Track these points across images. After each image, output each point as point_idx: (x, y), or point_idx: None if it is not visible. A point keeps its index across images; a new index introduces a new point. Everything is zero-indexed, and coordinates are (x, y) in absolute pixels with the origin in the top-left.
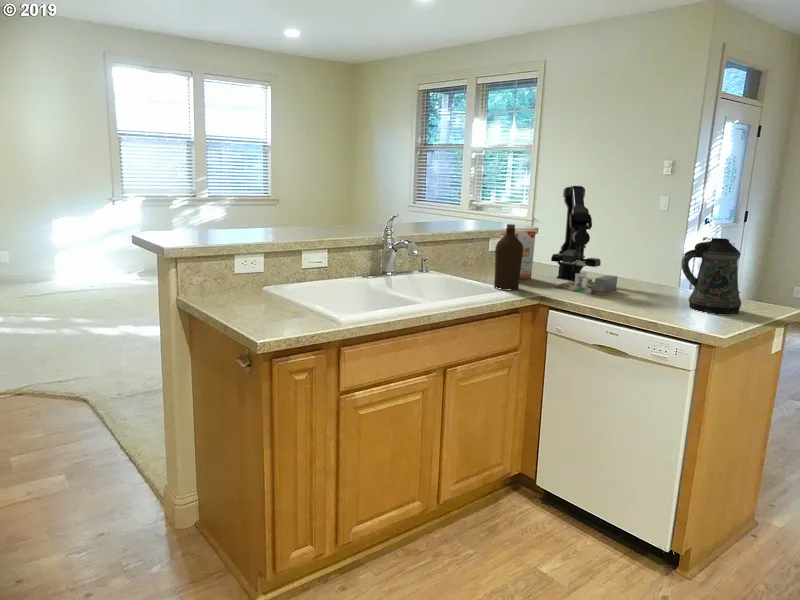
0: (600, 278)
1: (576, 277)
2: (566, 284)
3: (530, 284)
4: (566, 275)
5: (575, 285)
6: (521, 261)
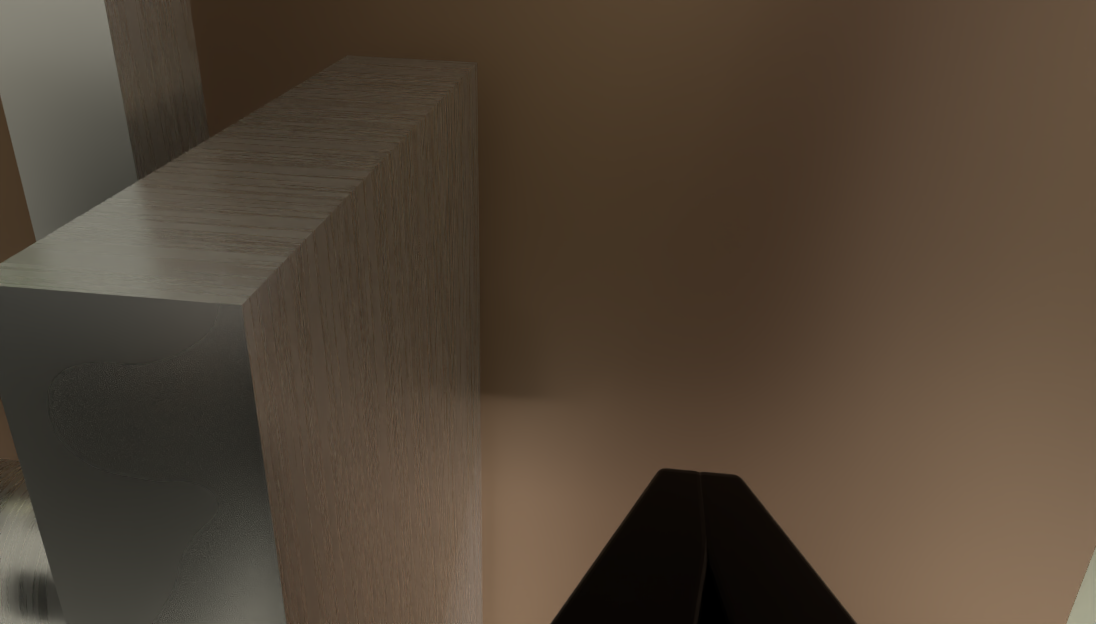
0: None
1: (260, 173)
2: (923, 331)
3: None
4: None
5: (421, 67)
6: None
